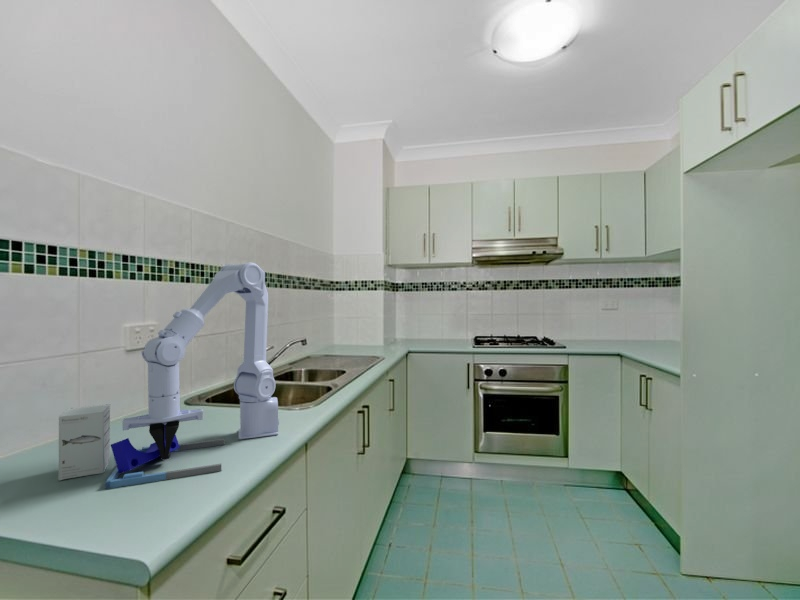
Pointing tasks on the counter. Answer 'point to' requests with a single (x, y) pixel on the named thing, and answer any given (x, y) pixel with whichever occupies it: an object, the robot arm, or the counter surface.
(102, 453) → the supplement box
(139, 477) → the blue grey open frame
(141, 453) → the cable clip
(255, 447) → the counter surface
